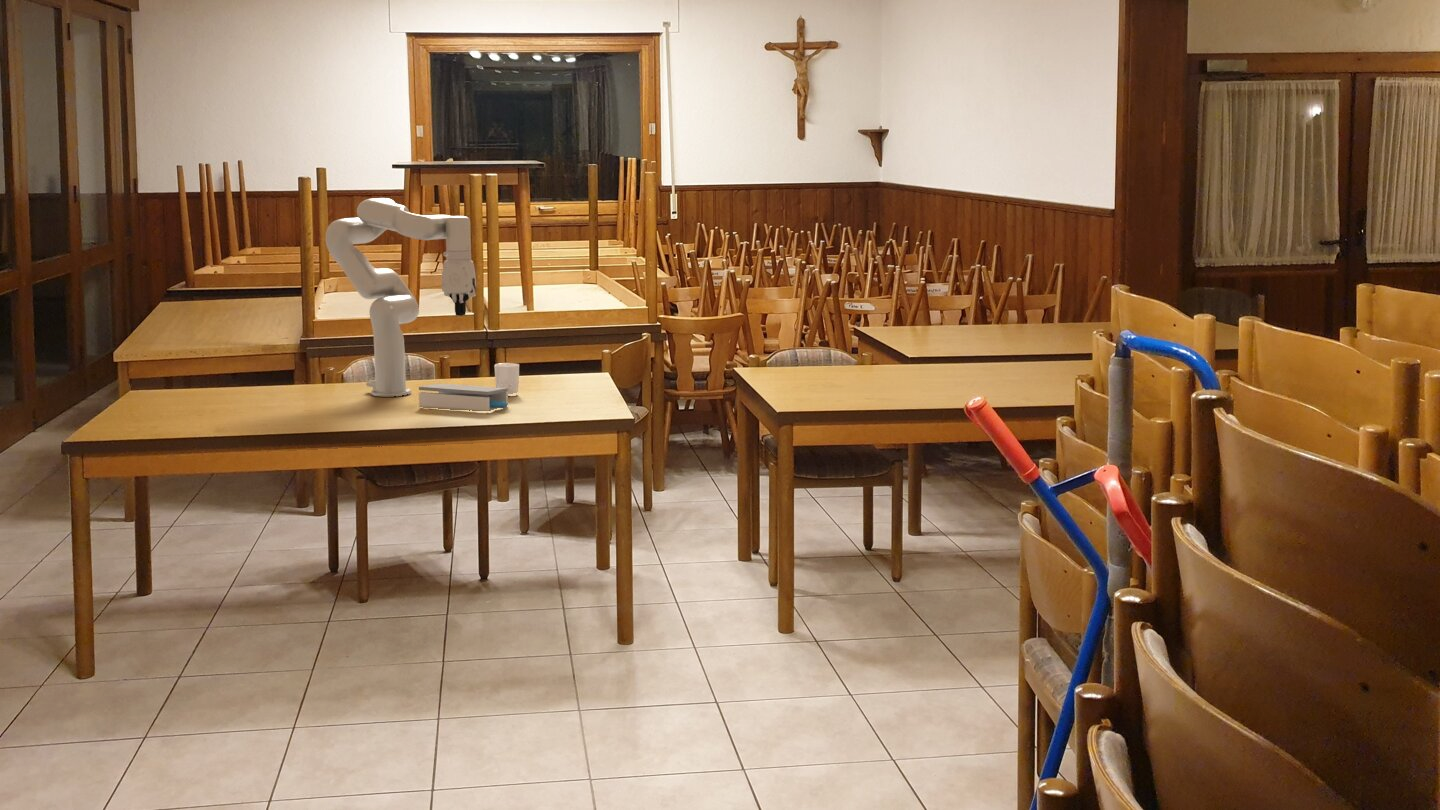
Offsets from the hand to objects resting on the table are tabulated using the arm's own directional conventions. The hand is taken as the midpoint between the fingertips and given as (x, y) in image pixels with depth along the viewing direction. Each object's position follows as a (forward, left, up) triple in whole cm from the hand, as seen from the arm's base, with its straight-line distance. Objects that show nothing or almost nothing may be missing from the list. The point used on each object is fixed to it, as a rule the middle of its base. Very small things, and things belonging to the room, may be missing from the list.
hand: (460, 315), depth 444 cm
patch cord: (+8, -11, -26) cm, 29 cm away
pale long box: (+7, -11, -27) cm, 30 cm away
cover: (+7, -11, -22) cm, 25 cm away
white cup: (+8, +14, -27) cm, 32 cm away
